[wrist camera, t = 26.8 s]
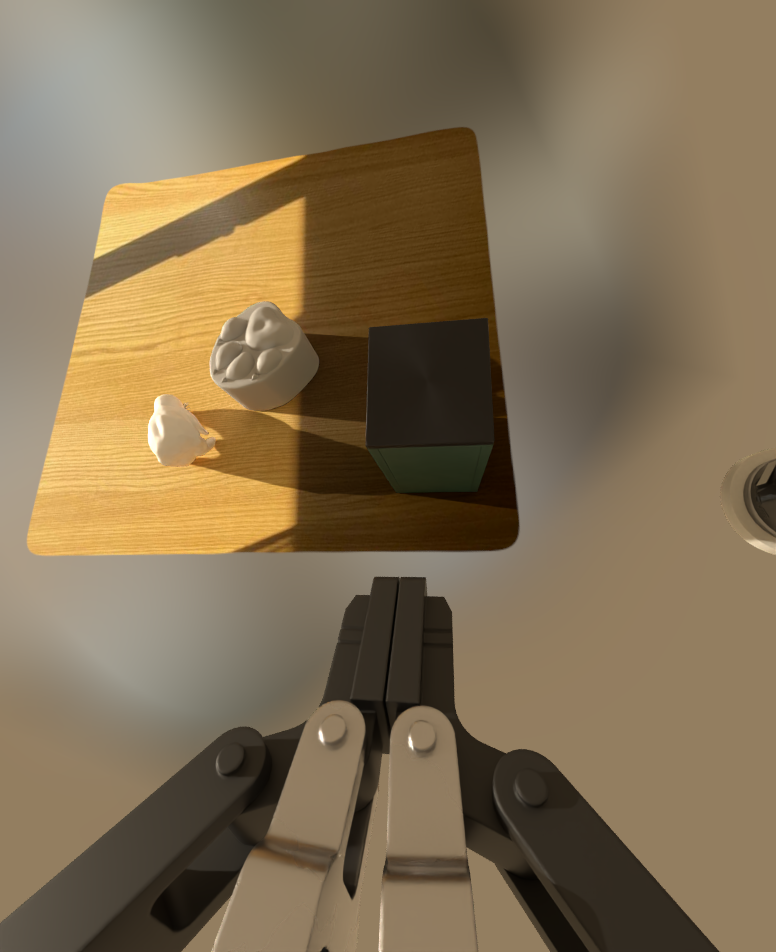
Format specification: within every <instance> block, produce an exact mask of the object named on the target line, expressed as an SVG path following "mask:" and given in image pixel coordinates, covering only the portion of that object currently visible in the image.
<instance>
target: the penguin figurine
mask: <svg viewBox="0 0 776 952" xmlns="http://www.w3.org/2000/svg"><path fill="white" fill-rule="evenodd" d="M188 403H189V402H188ZM184 404H185V403H184ZM184 404H182V402H181V401H180V400H179V399H178V398H177V397H175V396H173V395H169V394H165V395H160V396H159V397H157V398H156V400H155V403H154V410H155V412H154V414H153V416H152V417H151V419H150V421H149V425H148V443H149V445H150V448H151V450H152V451H153V452H154V454H155V455H156V456H157V458H158V461H159V462H160V463H161V464H163V465H165V466H173V467H179V466H182V467H184V466H188V465H190V464H191V463H192V462H193V461H194V460H195V458H196V457H197V456H203V455H204V454H206V453H207V452H209V451H210V450H211V449H212V448H213V447H214V445H215V442H216V439H215V438H214V437H210V438H208V439H206V440H205V439H204V438H202V437H201V436H200V433H201V434H203V435H208V434H209V432H207V431H206V430H205V429H204V427H203V426H202V425H201V424H200V422H199V421H198V419H197V418H196V416H195V415H193V414H192V413H191V412H189V411H190V410H186V409H187V408H186V406H187V405H186V404H187V403H186V404H185V405H184ZM188 405H189V404H188ZM188 408H190V407H188ZM190 409H191V408H190Z"/></svg>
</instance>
